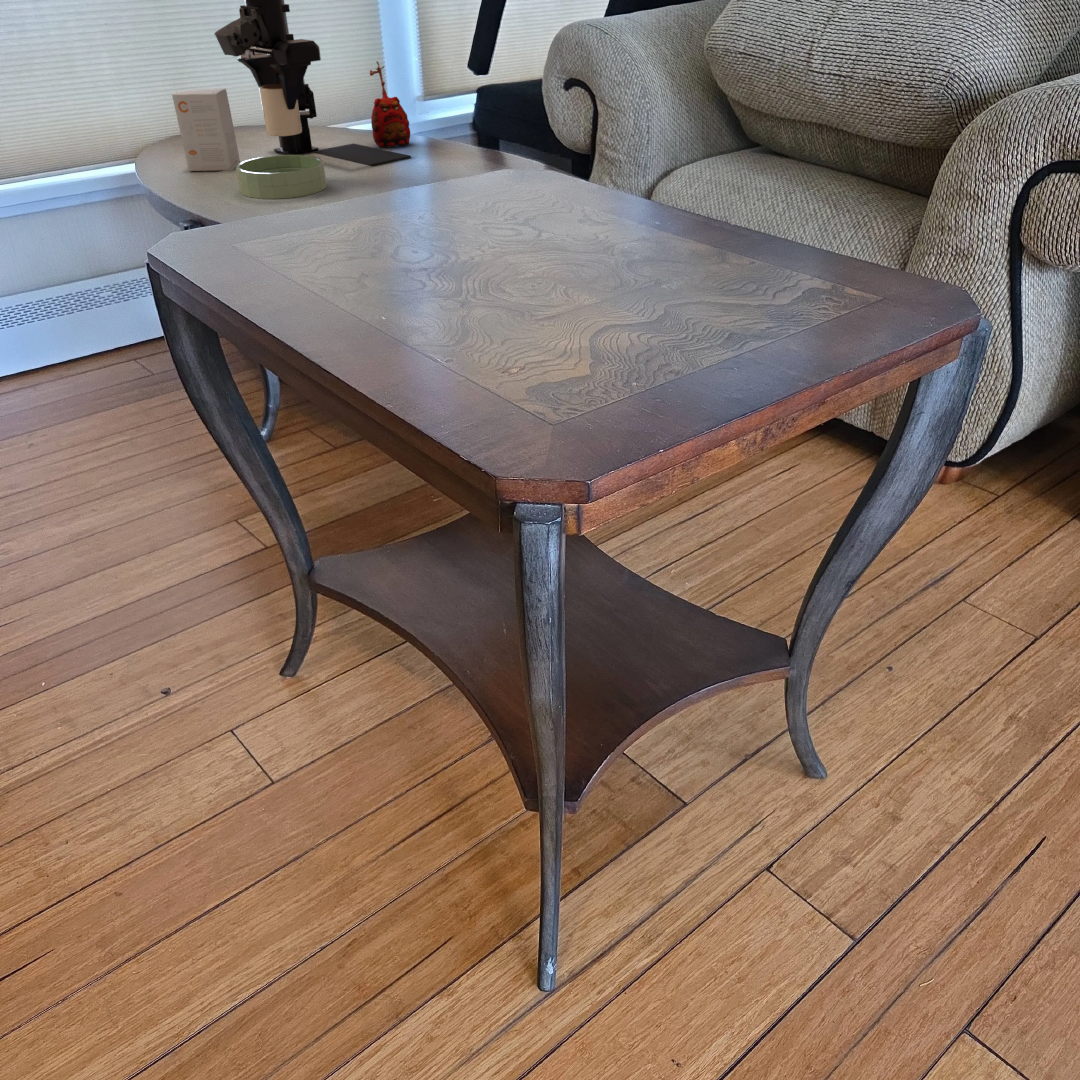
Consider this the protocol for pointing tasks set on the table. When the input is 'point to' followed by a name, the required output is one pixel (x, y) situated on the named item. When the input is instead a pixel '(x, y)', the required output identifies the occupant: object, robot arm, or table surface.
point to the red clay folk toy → (389, 119)
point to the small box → (206, 129)
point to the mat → (361, 154)
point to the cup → (279, 112)
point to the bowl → (281, 176)
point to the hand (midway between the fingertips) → (280, 107)
